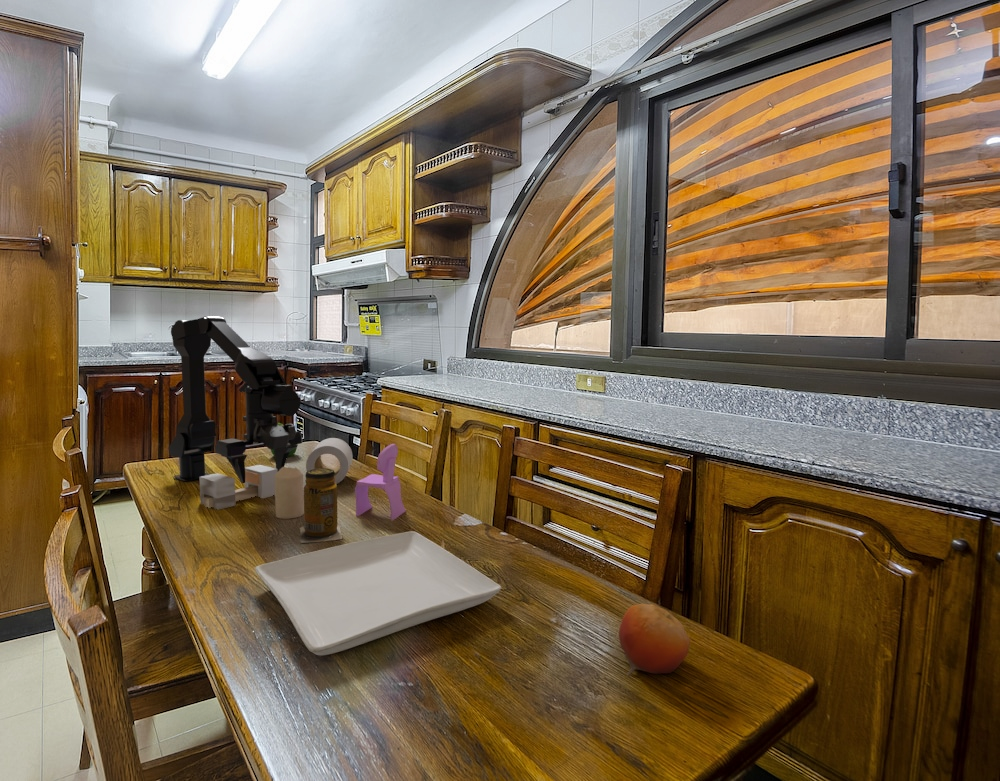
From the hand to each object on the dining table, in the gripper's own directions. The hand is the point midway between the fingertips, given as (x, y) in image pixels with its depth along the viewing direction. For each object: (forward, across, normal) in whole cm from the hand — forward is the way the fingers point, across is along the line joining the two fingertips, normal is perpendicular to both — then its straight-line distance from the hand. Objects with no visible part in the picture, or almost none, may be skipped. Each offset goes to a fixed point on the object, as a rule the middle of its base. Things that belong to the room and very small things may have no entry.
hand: (261, 478), depth 133 cm
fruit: (+4, -11, -98) cm, 99 cm away
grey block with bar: (+4, -4, 0) cm, 5 cm away
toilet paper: (+4, +17, -3) cm, 18 cm away
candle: (+4, -5, -18) cm, 19 cm away
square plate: (+4, -19, -59) cm, 62 cm away
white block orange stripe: (+4, 0, 0) cm, 4 cm away
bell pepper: (+4, +26, +30) cm, 40 cm away
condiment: (+4, -8, -32) cm, 33 cm away
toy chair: (+4, +7, -32) cm, 33 cm away
